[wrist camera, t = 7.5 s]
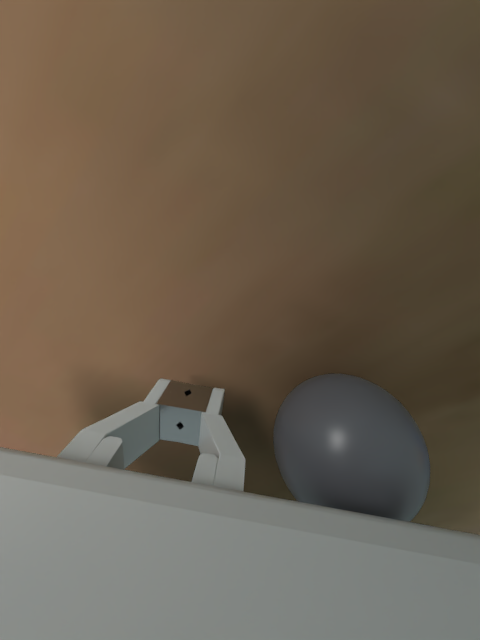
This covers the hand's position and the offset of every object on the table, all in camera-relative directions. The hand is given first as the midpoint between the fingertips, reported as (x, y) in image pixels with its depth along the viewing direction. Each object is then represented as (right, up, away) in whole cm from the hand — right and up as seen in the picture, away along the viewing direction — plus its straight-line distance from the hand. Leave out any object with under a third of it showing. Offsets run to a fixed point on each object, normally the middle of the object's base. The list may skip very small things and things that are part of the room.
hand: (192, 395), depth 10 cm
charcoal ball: (+6, -2, -1) cm, 7 cm away
